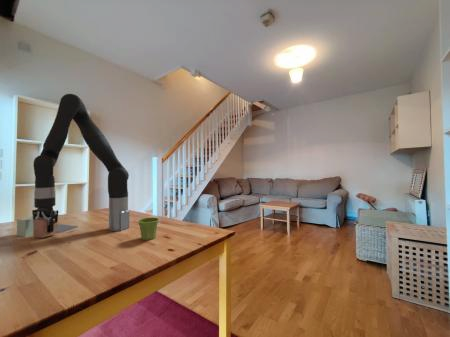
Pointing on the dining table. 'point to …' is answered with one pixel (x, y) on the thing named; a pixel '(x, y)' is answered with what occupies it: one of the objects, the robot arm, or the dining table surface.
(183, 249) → the dining table surface
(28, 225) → the pale green block
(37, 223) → the brown block
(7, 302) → the dining table surface
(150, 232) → the plant pot
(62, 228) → the slate mat
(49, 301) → the dining table surface
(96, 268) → the dining table surface
